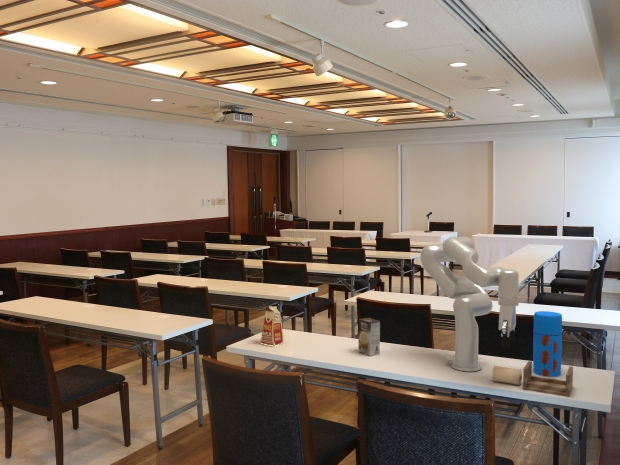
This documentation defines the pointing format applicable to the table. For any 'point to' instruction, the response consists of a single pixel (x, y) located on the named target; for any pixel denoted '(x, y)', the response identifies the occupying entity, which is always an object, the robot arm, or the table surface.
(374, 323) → the coffee box
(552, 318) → the thermos
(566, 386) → the cradle
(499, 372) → the kraft roll
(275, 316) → the milk carton
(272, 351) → the table surface
